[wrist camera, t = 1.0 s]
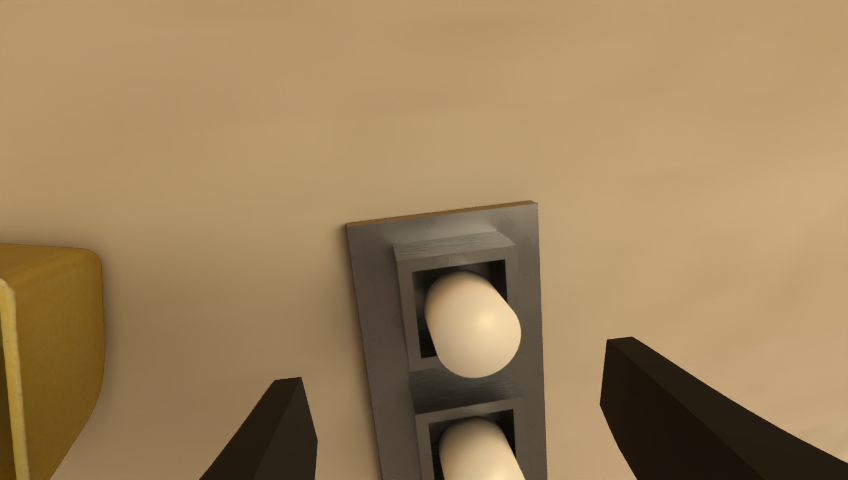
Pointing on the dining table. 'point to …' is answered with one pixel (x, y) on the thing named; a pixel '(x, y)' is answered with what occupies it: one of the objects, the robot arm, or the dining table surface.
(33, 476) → the flower pot
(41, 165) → the dining table surface
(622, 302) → the dining table surface
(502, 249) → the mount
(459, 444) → the knob middle
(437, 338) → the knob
